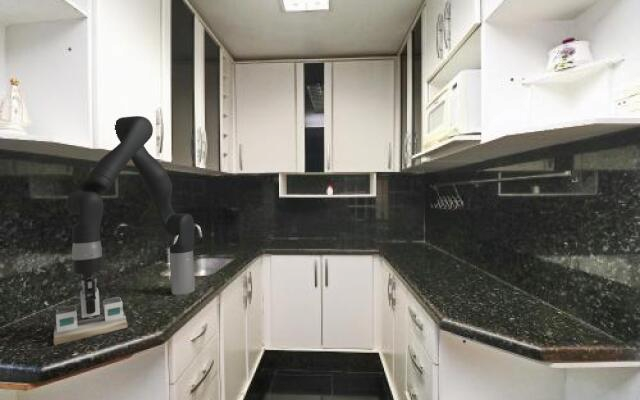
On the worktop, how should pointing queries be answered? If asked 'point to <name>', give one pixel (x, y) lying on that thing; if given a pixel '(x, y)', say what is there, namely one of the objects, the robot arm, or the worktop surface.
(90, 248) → the robot arm
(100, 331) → the rail board
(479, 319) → the worktop surface
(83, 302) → the block
